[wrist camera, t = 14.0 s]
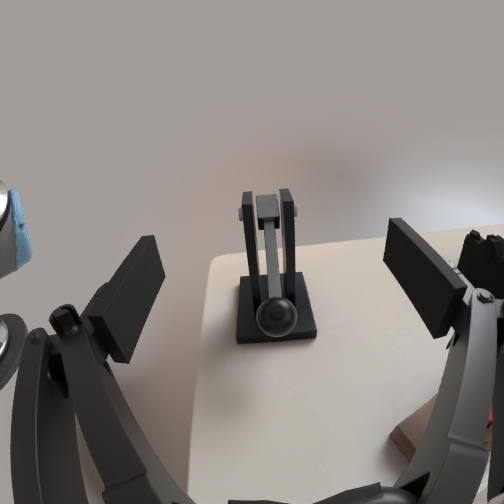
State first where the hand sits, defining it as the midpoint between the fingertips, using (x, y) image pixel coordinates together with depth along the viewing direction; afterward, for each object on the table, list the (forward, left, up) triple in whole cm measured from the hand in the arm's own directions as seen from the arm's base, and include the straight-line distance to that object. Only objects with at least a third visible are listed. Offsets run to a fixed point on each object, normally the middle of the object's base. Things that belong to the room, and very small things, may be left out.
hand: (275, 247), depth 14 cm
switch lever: (+4, +10, -8) cm, 13 cm away
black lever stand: (+5, +13, -16) cm, 21 cm away
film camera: (+38, -2, -17) cm, 41 cm away
